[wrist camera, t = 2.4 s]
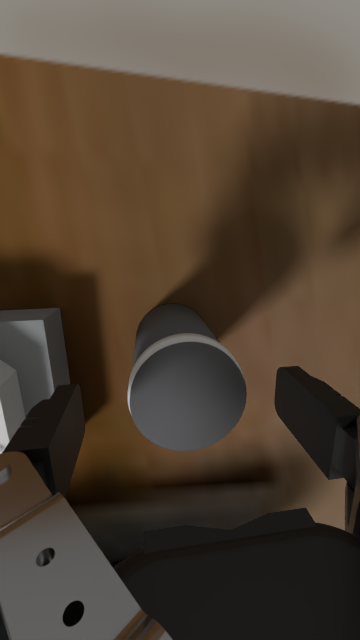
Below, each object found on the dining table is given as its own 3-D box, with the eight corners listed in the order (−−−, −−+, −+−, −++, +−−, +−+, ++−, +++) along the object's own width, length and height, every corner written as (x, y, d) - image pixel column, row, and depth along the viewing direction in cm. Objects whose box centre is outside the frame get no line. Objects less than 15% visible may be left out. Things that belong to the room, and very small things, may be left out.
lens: (207, 300, 19) (250, 338, 11) (207, 369, 20) (246, 446, 12) (132, 304, 18) (122, 347, 10) (137, 374, 19) (131, 458, 12)
